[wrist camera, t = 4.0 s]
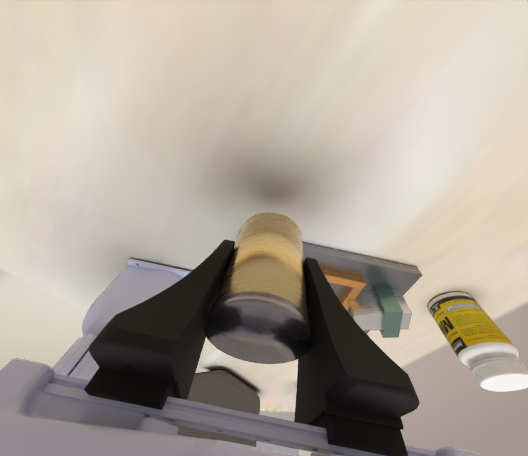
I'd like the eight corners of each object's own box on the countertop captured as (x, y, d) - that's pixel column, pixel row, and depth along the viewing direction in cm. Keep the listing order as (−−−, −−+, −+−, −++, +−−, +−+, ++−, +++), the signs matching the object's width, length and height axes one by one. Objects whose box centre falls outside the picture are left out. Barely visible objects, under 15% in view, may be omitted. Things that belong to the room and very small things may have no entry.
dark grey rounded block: (188, 369, 47) (149, 473, 34) (224, 363, 43) (196, 479, 30) (230, 395, 54) (211, 489, 41) (266, 392, 50) (257, 496, 37)
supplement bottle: (425, 295, 25) (476, 374, 18) (472, 287, 23) (548, 370, 16) (428, 317, 27) (475, 394, 20) (471, 310, 25) (538, 392, 19)
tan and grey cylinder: (235, 255, 16) (203, 351, 10) (243, 204, 13) (204, 294, 7) (293, 268, 16) (294, 371, 10) (312, 219, 13) (328, 321, 7)
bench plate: (230, 299, 30) (222, 329, 26) (240, 228, 22) (230, 257, 19) (365, 327, 30) (375, 361, 26) (419, 267, 22) (445, 303, 19)
